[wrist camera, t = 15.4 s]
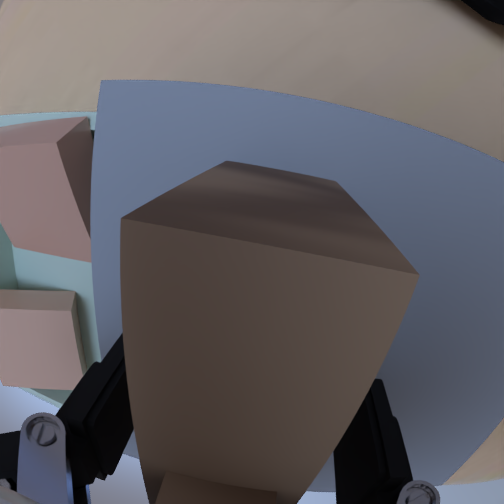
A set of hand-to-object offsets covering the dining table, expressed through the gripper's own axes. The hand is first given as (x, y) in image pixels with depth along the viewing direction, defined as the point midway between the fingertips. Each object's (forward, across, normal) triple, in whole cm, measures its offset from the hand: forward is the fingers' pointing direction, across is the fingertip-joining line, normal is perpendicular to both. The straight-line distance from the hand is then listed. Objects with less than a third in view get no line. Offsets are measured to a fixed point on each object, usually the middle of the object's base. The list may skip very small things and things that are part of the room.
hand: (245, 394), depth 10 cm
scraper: (+1, 0, 0) cm, 1 cm away
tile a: (+4, +10, -5) cm, 12 cm away
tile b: (+3, +12, +5) cm, 13 cm away
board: (+6, -4, 0) cm, 7 cm away
